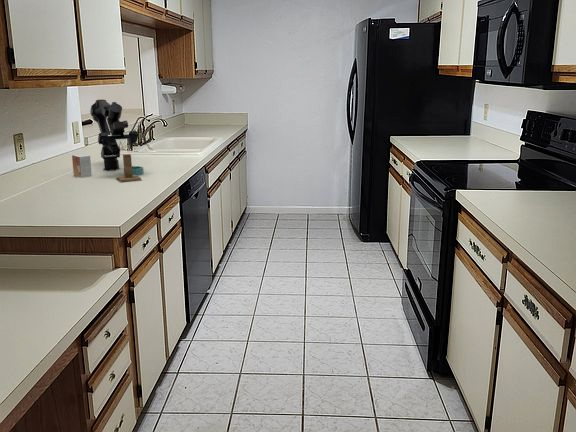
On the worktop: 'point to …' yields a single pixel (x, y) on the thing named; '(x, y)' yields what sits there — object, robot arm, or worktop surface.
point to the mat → (130, 181)
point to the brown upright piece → (127, 170)
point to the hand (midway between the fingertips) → (122, 151)
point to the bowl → (137, 170)
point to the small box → (81, 165)
